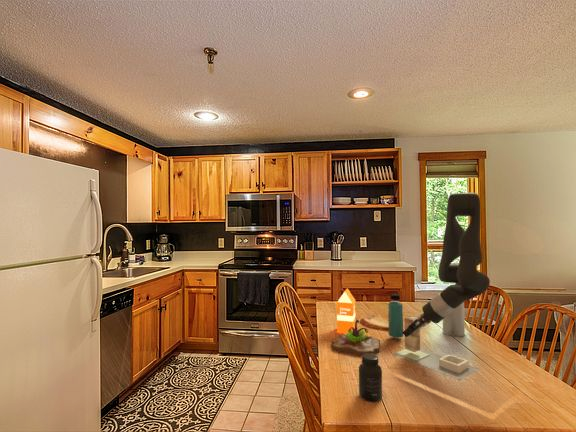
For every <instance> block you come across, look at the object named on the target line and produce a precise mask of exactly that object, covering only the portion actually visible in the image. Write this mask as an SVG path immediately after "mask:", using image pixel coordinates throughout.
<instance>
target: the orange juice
mask: <svg viewBox="0 0 576 432" xmlns="http://www.w3.org/2000/svg"><path fill="white" fill-rule="evenodd" d="M336 322H337V323H336V324H337V325H336V326H337V327H336V329H337V330H336V332H337V334H344V333H345V334H347V332H348V330H349V329H350V328H351V327H354V329H355V322H356V299H355V297H354V296H353V294H352V293H351V291H350V290H349V288H345V291H343V293H342V295H341V296H340V297H339V299H338V300H337V302H336ZM351 330H352V331H353V329H351Z"/></svg>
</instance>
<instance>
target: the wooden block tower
mask: <svg viewBox="0 0 576 432" xmlns="http://www.w3.org/2000/svg"><path fill="white" fill-rule="evenodd" d="M417 318H418V317H414V316H408V317H405V318H404V317H403V323H404V331H405V330H406V329H407V328H408V326H409V325H411V324H412V323H413V321H414V320H416V319H417ZM404 349H406V350H409V351H412V352H416V351H419V350H420V349H421V329H417V330H416V331H415V332H413V333H411V334H410V335H409V336H408V337H405V336H404Z"/></svg>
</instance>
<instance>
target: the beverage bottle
mask: <svg viewBox="0 0 576 432" xmlns="http://www.w3.org/2000/svg"><path fill="white" fill-rule="evenodd" d="M390 300H391V301H390V302H389V303H388V304H387V305H388V309H387V311H388V318H387V320H389V325H388V326H389V327H388V329H389V331H388V335H389V336H390V337H391V338H395V339H396V338H400V339H401V338H404V334H403V332H404V331H405V328H404V317H403V316H404V311H403V303H402V302H401V301H400V300H401V296H400V294H398V293H391V294H390Z"/></svg>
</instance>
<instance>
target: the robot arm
mask: <svg viewBox="0 0 576 432" xmlns="http://www.w3.org/2000/svg"><path fill="white" fill-rule="evenodd" d="M446 208H447V209H446V221H445V229H444V230H445V231H444V235H443V242H442V251H441V257H440V261H439V266H438V273H437V274H438V279H439V281H440V282H442V283H451V284H450V285H449V286H446V288H444V289H442V291H440V293H438V294H436V295H435V296H433V297H432V298H431V299H430V300H429V301H427V302H426V303H425V304H424V305H423V306H422V310H421V311H422V312H423V313H422V314H419V315H418V316H417V317H416V318H417V319H416V320H414V321H413V323H412V324H411V325H409V326H408V328H407V329H406V330H405V329H404V331H403V336H404V338H405V337H408V336H409V335H410V334H411V333H413V332H415V331H416V330H417V329H420V330H421V329H423V328H425V327H426V326H427V325H429V324H431V322H432V323H433V324H439V323H440V322H442V333H443V334H444V335H446V336H447V335H448V336H451V337H464V336H465V332H466V331H465V326H466V325H465V302H467V301H469V300H472V299H474V298H476V297H478V296H480V295H482V294H483V293H485V292H486V291H487V290H488V289H489V287H490V285H491V284H490V282H491V281H490V278H489V276H488V275H486V274H485V273H483V272H481V271H479V270H477V266H480V265H481V264H482V263H483V254H482V253H483V252H482V246H481V244H482V243H481V199H480V196H479V194H478V193H476V192H455V193H450V195H449V196H448V198H447V206H446ZM457 217H470V222H469V224H468V226H467V228H466V229H464V228H463V226H462V225H461V224H460V223H459V221H458V219H457ZM458 258H459V263H457V262H455V263H453V262H454V261H455V260H456V259H458ZM452 283H453V284H452Z"/></svg>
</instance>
